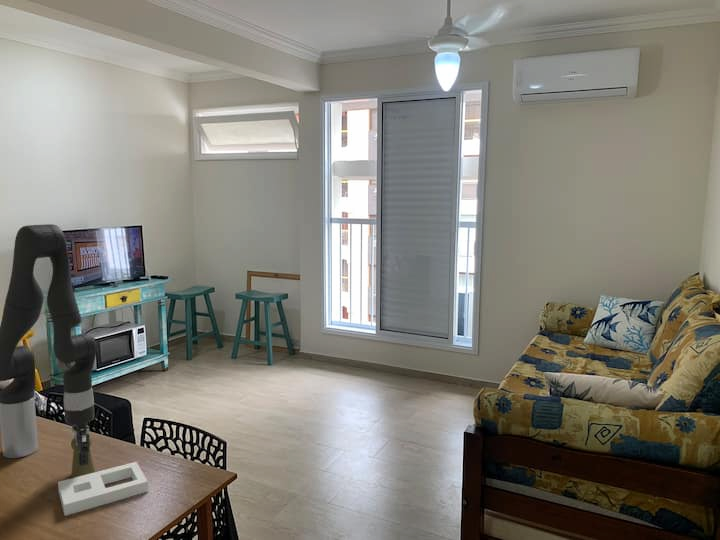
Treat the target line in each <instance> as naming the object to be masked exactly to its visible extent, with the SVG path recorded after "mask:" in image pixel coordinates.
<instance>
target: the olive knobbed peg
mask: <svg viewBox="0 0 720 540" xmlns="http://www.w3.org/2000/svg"><path fill="white" fill-rule="evenodd" d="M78 442H79V441H78ZM70 446H71V449H72V451H73V452H72V453H73V454H72V461H71V462H72V463H71V474H70V476H71V478H75V477H79V476H83V475H87V474H91V473H94V472H96V471H95V470H96V469H95V466H94V461H93V457H92V452H91V448H90V447H91V446H92V438H91V436H89V449H90V451H89V452H88V464H87V465H83V466H80V464H79V453H78V446H77V445H76V444H75V438H74V439H73V438H72V440H71V442H70ZM83 448H86V447H82V448H81V449H83Z"/></svg>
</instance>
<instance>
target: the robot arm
mask: <svg viewBox="0 0 720 540" xmlns="http://www.w3.org/2000/svg"><path fill="white" fill-rule="evenodd" d="M68 251H69V250H68V245H67V240H66V237H65V233H64V232H63V230H62V229H61V227H60V226H59V225H58V224H57V225H56V224H49V223H48V224H31V225H24V226H22V227H20V228H19V229H18V231H17V233H16V235H15V240H14V249H13V257H12V258H13V259H12V269H11V275H10V279H9V284H8V285H9V286H8V288H7V292H6V293H7V294H6V297H5V300H4V307H3V310H2V311H3V312H2V316H1V317H2V318H1V322H0V382H7V381H9V380H12V381H11V382H10V383H9V384H8V385H6V386H5V387H4V388H3V389H1V390H0V432H1V435H0V436H1V444H2V445H1V447H2V456H3V457H4V458H7V459H17V458H18V459H19V458H22V457H27V456H30V455H31V454H34V453H35V452H36V451H37V450H38V448H39V446H38V445H39V442H38V430H37V413H36V401H35V390H36V384H37V383H36V359H35V355H34V352H33V350H32V349H31V348H30V347H29V346H27V345H18V344H19V343H20V341H21V340H22V339H23V338H24V337H25V335H26V334H28V332H30V331H31V329H32V328H33V327H34V326H35V324H36V323H37V321H39V319H40V316H41V312H42V308H43V304H44V300H45V299H44V298H45V297H44V293H43V290H42V288H41V286H40V285H39V283H38V281H37V280H36V278H35V276H34V268H35V264H36V261H37V259H43V258H49V259H50V262H51V266H52V276H51V280H50V284H49V287H48V291H47V296H46V305H47V309H48V311H49V314H50V318H51V321H52V326H53V353H54V356H55V358H56V359H57V360H58V361H59V362H60V363H62V364H65V365H66V364H72V363H74V362H75V363H74V364H73V365H72V366H71V367H69V368H68V369H67V370H65V371H64V372H63V376H62V377H63V379H62V380H63V410H64V411H63V412H64V422H65V424H67V425H71V431H72V437H73V438H72V440H73V439H74V438H75V444H76V445H77V446H78V453H79V464H80V466H83V465H87V464H88V452H89V451H91V448H90V449H89V437H90V426H88V425H89V424H88V423H90V422H91V421H93V420H94V419H95V417H96V415H95V414H96V413H95V399H94V391H93V381H92V378H93V377H92V372H93V368H94V364H95V360H96V357H97V350H98V349H97V342H96V340H95V339H94V337H93V336H92V335H91V334H89V333H83V332H82V333H79V334H75V335H72V329H73V328H75V327H77V326H78V325H81V323H82V316H81V313H80V309H79V307H78V304H77V300H76V296H75V292H74V289H73V283H72V282H73V281H72V275H71V268H70V267H71V266H70V259H69V252H68ZM78 441H79V442H78ZM82 447H86V448H83V449H81V448H82Z"/></svg>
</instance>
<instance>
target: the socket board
mask: <svg viewBox="0 0 720 540" xmlns="http://www.w3.org/2000/svg"><path fill="white" fill-rule="evenodd" d="M129 478H131V479H132V480H131V481H127V482H124V483H120V484H115V485H114V486H113V485H112V486H110V487H106V486H105V485H107V484H112V483H114V482H118V481H122V480H125V479H129ZM148 483H149V482H148V480H147V478H146V475H145V474H144V472H143V470H142V469H141V467H140V466H139V463H138V462H137V461H134V462H130V463H126V464H123V465H118V466H114V467H110V468H107V469H102V470H99V471H95V472H94V473H91V474H87V475H83V476H79V477H75V478H73V477H71V478H67V479H64V480H59V481H57V485H58V486H57V487H58V495H59V499H60V503H61V507H62V510H63V516H70V515H72V514H76V513H80V512H84V511H87V510H90V509H93V508H97V507H101V506H105V505H108V504H110V503H114V502H117V501H121V500H124V499H125V500H126V499H128V498H132V497H134V495H135V496H138V495H141V493H142V494H146V493H149V484H148ZM137 494H138V495H137ZM131 496H132V497H131Z"/></svg>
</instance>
